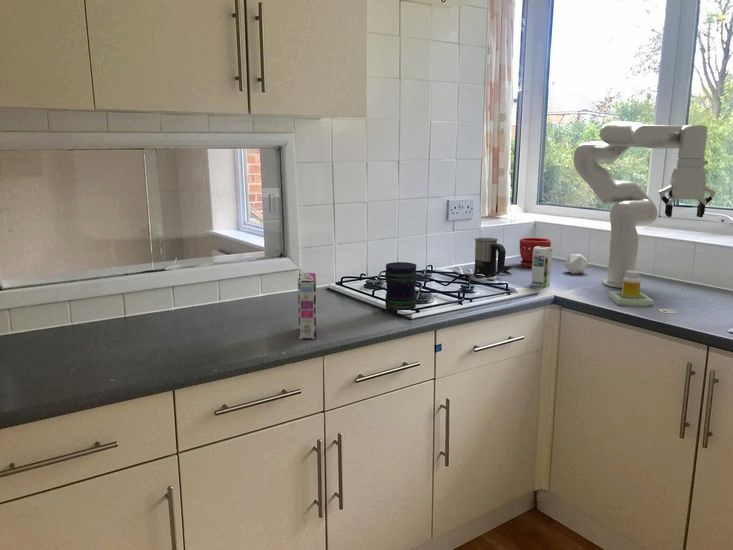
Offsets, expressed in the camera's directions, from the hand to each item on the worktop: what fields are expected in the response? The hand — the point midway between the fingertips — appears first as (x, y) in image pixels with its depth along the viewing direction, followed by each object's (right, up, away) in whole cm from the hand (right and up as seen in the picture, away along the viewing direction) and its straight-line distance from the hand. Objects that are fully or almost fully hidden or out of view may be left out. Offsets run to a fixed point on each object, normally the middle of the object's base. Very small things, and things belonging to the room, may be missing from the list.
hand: (684, 216), depth 190 cm
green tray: (-16, -28, +3) cm, 33 cm away
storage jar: (-95, -31, -7) cm, 100 cm away
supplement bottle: (-16, -28, +3) cm, 33 cm away
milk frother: (-53, -19, +47) cm, 73 cm away
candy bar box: (-122, -36, -29) cm, 130 cm away
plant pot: (-32, -16, +63) cm, 72 cm away
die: (-19, -19, +48) cm, 55 cm away
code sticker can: (-10, -31, -8) cm, 33 cm away
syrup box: (-40, -23, +27) cm, 53 cm away
